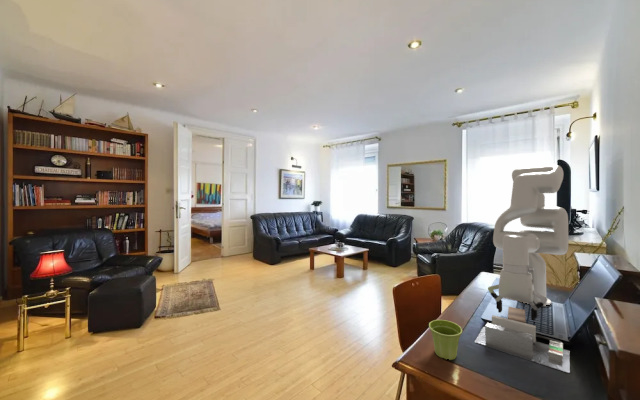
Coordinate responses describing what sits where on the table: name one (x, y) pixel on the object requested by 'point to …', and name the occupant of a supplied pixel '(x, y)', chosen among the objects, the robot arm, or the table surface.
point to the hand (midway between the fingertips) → (516, 315)
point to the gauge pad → (518, 327)
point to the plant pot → (445, 338)
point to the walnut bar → (516, 314)
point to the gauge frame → (525, 346)
